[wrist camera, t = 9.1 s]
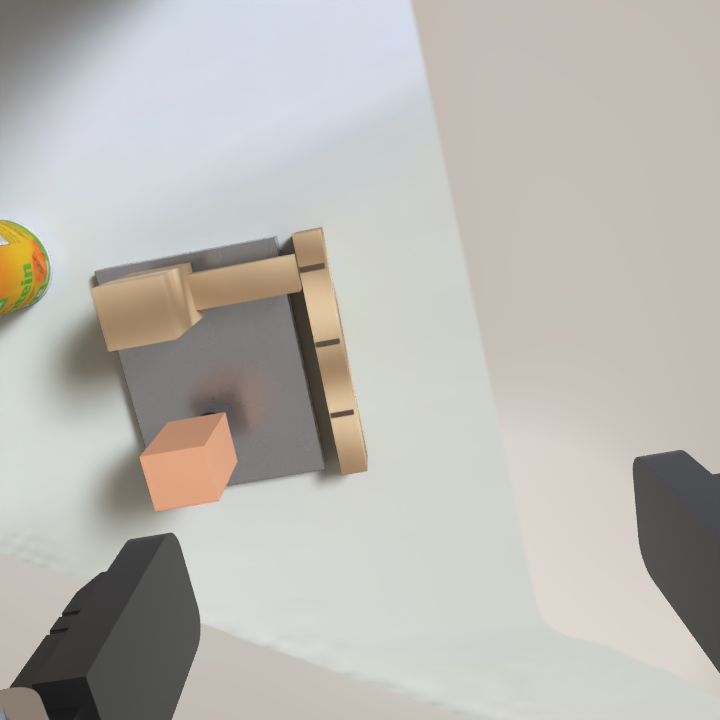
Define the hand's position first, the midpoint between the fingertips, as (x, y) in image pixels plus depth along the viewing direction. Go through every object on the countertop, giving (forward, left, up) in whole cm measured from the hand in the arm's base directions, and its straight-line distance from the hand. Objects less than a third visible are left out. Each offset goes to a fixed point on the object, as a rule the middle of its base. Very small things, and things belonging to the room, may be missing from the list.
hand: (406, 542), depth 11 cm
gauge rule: (+4, -8, -30) cm, 31 cm away
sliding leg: (+7, -12, -29) cm, 32 cm away
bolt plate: (+4, -11, -30) cm, 32 cm away
